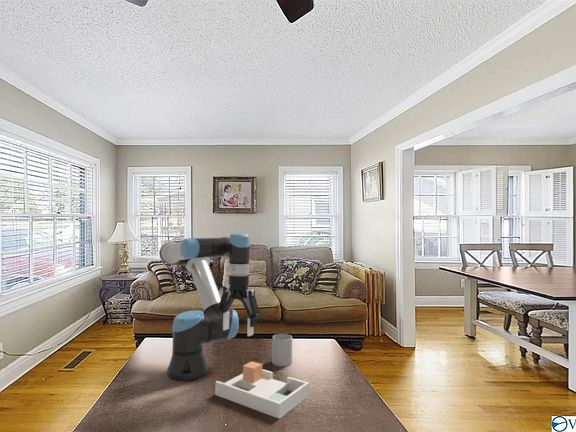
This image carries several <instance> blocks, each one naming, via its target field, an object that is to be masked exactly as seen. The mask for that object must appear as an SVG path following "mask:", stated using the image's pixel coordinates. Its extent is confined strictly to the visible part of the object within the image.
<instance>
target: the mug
mask: <svg viewBox="0 0 576 432" xmlns="http://www.w3.org/2000/svg"><path fill="white" fill-rule="evenodd" d="M271 347H272V348H271V349H272V351H271V352H272V357H271V359H272V360H271V362H272V364H273V365H274V366H276V367H287V366H291V365H292V363H293V336H292V335H291V334H287V333H279V334H278V333H277V334H274V335H272V346H271Z"/></svg>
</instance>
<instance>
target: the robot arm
mask: <svg viewBox="0 0 576 432" xmlns="http://www.w3.org/2000/svg"><path fill="white" fill-rule="evenodd" d="M250 246H251V243H250V235H249V234H247V233H231V234H230V235H229V236H228V237H227V236H225V237H224V236H223V237H209V238H208V237H206V238H205V237H204V238H203V237H200V238H199V237H198V238H195V237H189V238H184V239H183V240H173V241H169V242H168V241H167V242H166V243H164V244H163V245H162V246H161V247H160V249H159V253H158V254H159V259H160V260H161V261H162V262H163V263H165V264H167V265H170V266H185V269H186V270H187V271H188V272H190V273H191V277H192V278H193V282H194V284H195V288H196V291H197V294H198V297H199V299H200V302H201V305H202V308H203V310H198V309H195V310H187V311H184V312H181V313H179V314H177V315H176V316H174V318H173V321H172V322H173V323H172V354H171V358H170V362H169V365H168V366H167V372H166V373H167V377H168V378H169V379H171V380H173V381H182V382H184V381H192V380H197V379H199V378H202V377H204V376H205V375H206V374H207V373H208V365H207V362H206V357H205V354H204V344H210V343H214V342H215V343H216V342H221V341H227V340H230V339H233V338H235V337H236V336H237V334H238V331H239V320H240V319H239V315H238V312H237V310H235V309H230V308H231V307H232V305H233V303H234V301H235V300H238V301H240V302H241V303H242V304H243V307H244V309H245V310H246V313H247V315H248V317H247V332H246V334H247V337H251V336H253V335H254V328H255V327H256V318H257V317H260V316H261V312H260V310H259V305H258V303H257V302H258V301H257V299H256V290H255V289H249V288H248V287H249V284H250V283H249V282H250V281H249V280H250V278H249V277H250V276H249V274H250ZM222 257H223V258H224V257H227V258H229V259H228V260H229V262H228V266H229V267H228V274H229V276H228V284H229V285H226V286H222V294H220V292H219V289H218V286H217V284H216V281H215V279H214V275H213V273H212V271H211V268H210V264H211V261H212V259H213V258H222Z"/></svg>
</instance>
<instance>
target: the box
mask: <svg viewBox="0 0 576 432" xmlns="http://www.w3.org/2000/svg"><path fill="white" fill-rule="evenodd" d="M273 377H274V372H273V371H270V370H267V369H263V368H262V378H261V379H260V380H258V381H256V382H254V383H253V382H250V381H246V380H243V373H241V374H239V375H237V376H234V377H233V378H231V379H229V380H227V381H225V382H223V381H219V380H215V387H214V388H215V390H214V391H215V392H214V394H215V396H217V397H220V398H222V399H226V400H229V401H230V402H234V403H237V404H239V405H241V406H244V407H246V408H249V409H252V410H255V411H257V412H260V413H262V414H265V415H269V416H270V417H273V418H276V419H281V418H283V417H284V416H285V415H287V414H288V413H289V412H291V410H293V409H294V408H296V407H297V406H298V405H299V404H300V403H302V402H303V401H304V400H306V399H307V398H308V397H310V382H307V381H304V380H302V379H297V378H294V377H291V376H288V377H287V378H286V382H284V381H281V380H277V379H274V378H273Z"/></svg>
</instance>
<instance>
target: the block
mask: <svg viewBox="0 0 576 432" xmlns="http://www.w3.org/2000/svg"><path fill="white" fill-rule="evenodd" d="M262 369H263V363H260V362H256V361H252V360H251V361H249V362H248V363H247V362H246V364H244V365H242V374H243V380H246V381H250V382H253V383H254V382H256V381H258V380H260V379H261V378H262Z"/></svg>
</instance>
